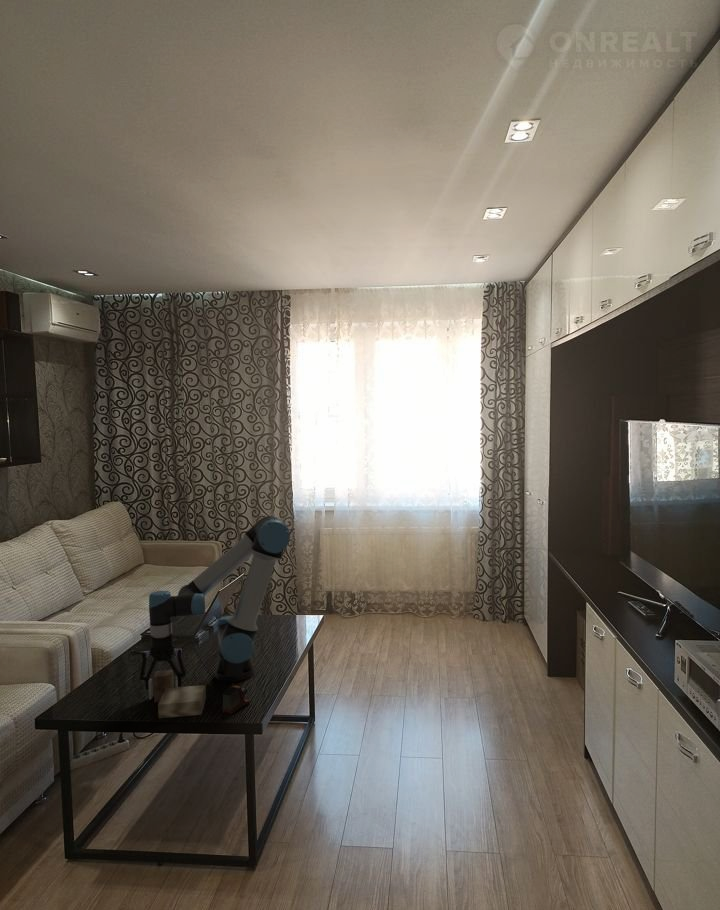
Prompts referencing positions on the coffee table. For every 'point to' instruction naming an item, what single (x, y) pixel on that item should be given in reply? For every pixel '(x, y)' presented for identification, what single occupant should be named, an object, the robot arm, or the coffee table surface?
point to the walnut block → (162, 683)
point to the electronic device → (234, 699)
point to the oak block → (182, 701)
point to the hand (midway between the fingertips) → (164, 696)
